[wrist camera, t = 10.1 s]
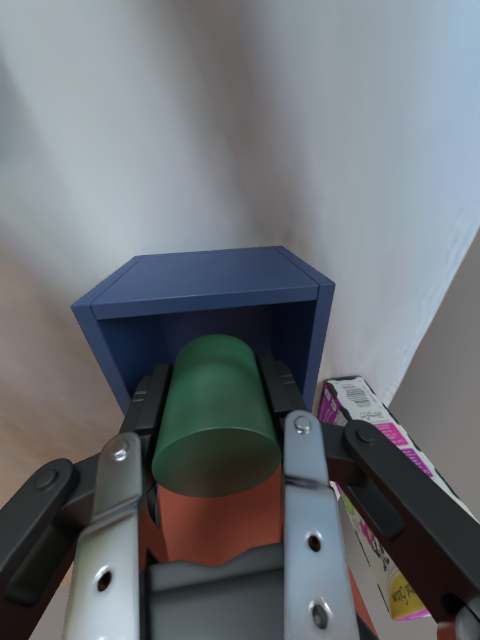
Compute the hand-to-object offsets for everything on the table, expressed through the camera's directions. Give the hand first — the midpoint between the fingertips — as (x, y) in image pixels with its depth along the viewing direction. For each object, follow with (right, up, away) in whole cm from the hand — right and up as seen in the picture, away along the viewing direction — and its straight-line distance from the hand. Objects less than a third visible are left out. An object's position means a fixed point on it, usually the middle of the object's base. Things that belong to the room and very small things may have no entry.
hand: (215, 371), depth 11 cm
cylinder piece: (0, 0, 0) cm, 0 cm away
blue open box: (-1, +2, +9) cm, 9 cm away
